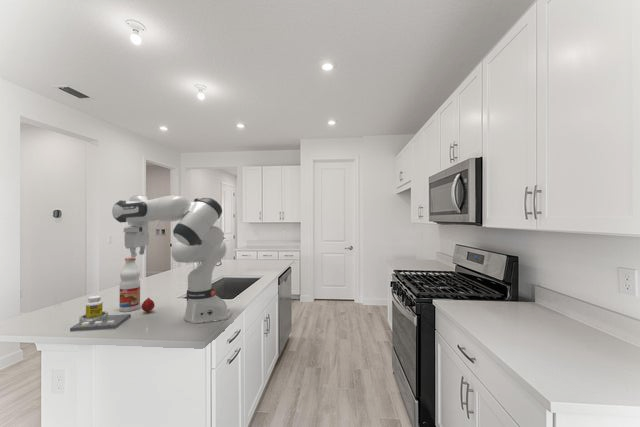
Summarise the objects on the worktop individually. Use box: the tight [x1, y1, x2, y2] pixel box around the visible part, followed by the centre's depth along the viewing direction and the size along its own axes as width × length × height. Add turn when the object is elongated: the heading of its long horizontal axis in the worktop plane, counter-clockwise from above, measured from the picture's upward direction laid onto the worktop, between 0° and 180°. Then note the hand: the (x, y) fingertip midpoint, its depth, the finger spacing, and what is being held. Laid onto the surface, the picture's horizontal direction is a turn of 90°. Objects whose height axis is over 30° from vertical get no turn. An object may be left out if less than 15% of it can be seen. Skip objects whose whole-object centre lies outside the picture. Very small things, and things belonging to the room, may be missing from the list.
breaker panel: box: [69, 313, 132, 332], centre depth 136 cm, size 18×15×3 cm
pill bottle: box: [85, 295, 104, 318], centre depth 136 cm, size 6×6×11 cm
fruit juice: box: [119, 256, 141, 313], centre depth 157 cm, size 9×9×28 cm
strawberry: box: [141, 297, 155, 314], centre depth 151 cm, size 6×6×8 cm
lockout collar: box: [78, 310, 109, 324], centre depth 136 cm, size 10×10×2 cm
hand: (137, 255), depth 143 cm, fingers open, 8 cm apart
